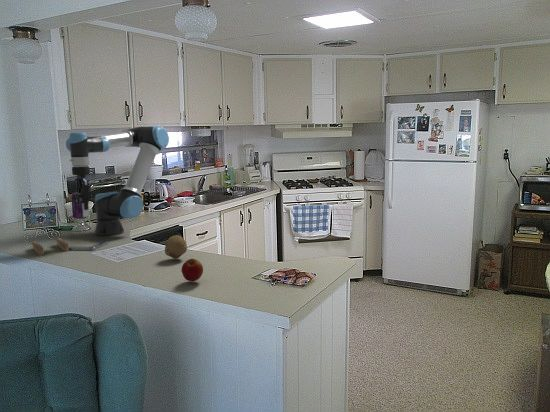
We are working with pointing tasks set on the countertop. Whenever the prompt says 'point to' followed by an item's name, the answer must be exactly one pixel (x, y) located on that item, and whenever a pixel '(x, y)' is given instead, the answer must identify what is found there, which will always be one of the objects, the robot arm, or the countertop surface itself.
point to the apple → (192, 270)
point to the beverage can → (77, 206)
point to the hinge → (88, 247)
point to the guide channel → (60, 243)
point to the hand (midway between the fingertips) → (84, 215)
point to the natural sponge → (175, 247)
